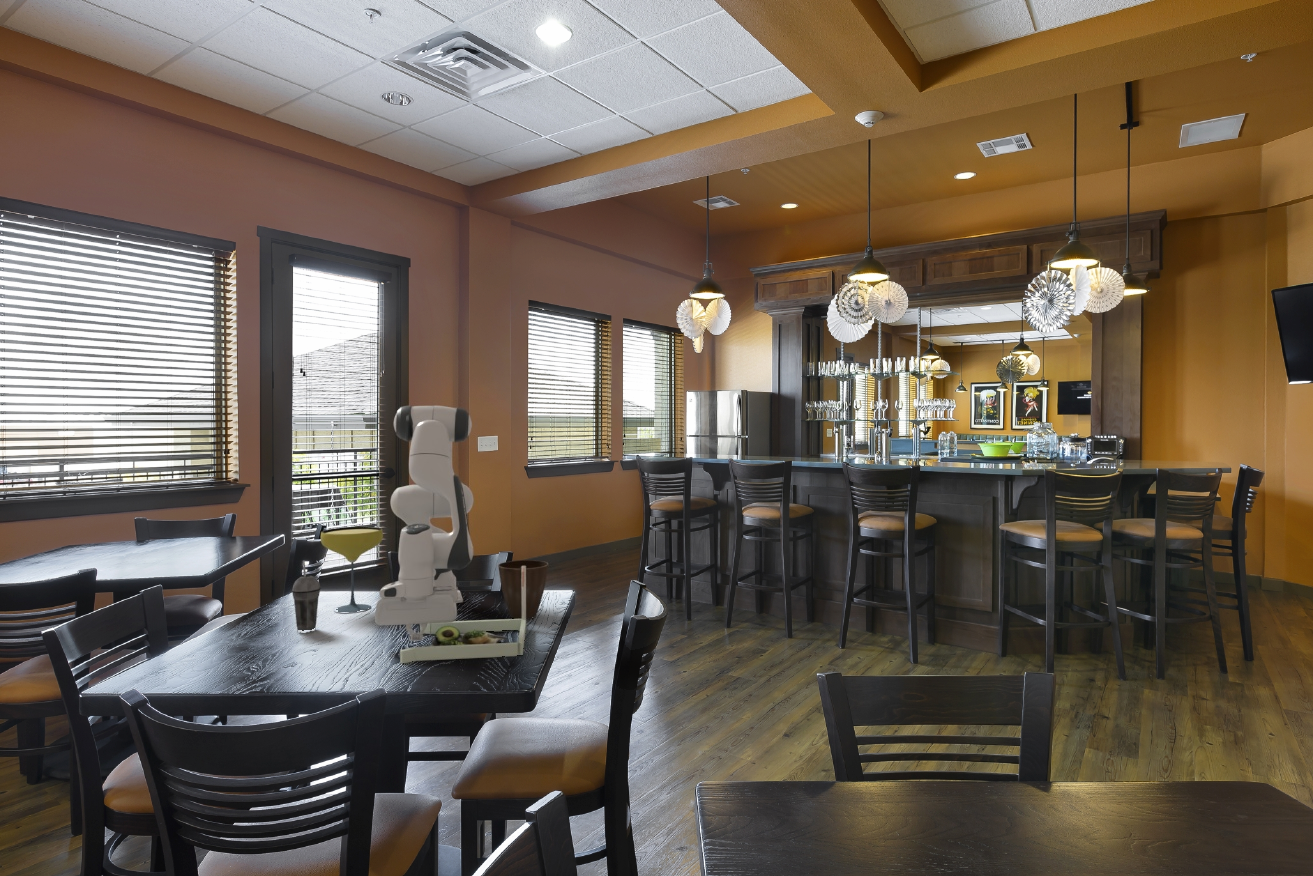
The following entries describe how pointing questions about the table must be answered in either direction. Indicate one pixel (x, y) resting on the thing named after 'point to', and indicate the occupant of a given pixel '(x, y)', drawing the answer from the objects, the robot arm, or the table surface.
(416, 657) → the corral
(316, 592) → the beverage cup
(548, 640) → the table surface
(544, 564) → the plant pot
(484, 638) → the avocado toast plate
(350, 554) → the cocktail glass
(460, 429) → the robot arm
